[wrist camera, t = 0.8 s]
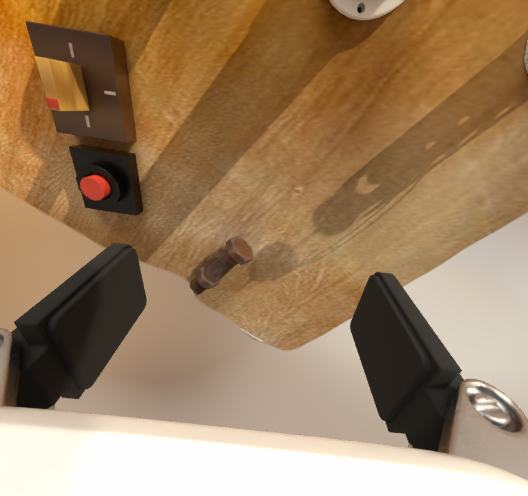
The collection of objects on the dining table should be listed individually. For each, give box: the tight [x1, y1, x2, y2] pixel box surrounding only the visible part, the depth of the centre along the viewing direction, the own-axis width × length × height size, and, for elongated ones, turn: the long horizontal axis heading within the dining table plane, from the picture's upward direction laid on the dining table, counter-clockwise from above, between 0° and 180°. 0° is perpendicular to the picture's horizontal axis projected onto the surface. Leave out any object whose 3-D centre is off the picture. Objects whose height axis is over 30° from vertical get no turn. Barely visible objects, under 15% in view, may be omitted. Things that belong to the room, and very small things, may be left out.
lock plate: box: [26, 21, 136, 143], centre depth 32 cm, size 12×10×3 cm
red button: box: [80, 175, 111, 200], centre depth 36 cm, size 4×4×2 cm
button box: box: [69, 145, 143, 215], centre depth 38 cm, size 10×9×4 cm
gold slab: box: [35, 56, 90, 111], centre depth 29 cm, size 5×1×5 cm, turn 172°
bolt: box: [190, 237, 253, 294], centre depth 46 cm, size 6×5×15 cm
